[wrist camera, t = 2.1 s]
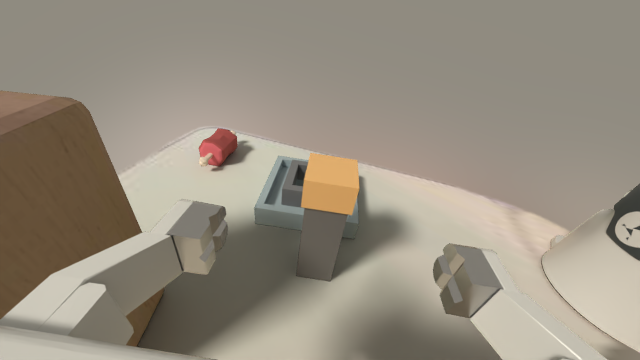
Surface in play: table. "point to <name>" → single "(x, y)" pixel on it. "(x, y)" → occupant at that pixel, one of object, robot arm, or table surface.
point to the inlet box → (290, 198)
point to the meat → (217, 147)
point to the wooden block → (57, 197)
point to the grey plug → (325, 212)
